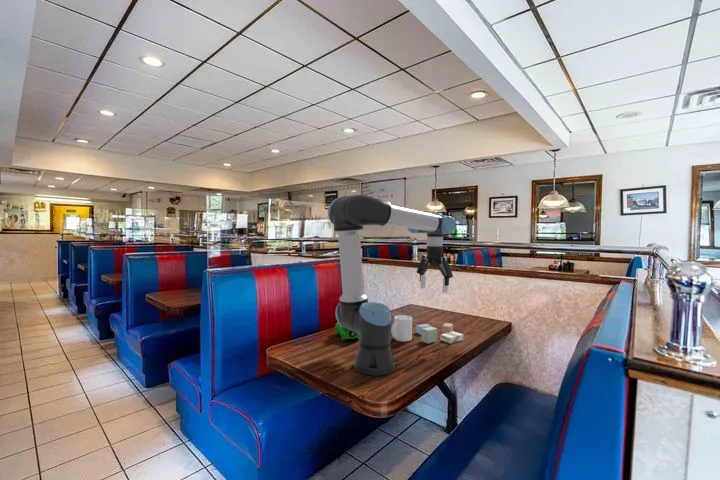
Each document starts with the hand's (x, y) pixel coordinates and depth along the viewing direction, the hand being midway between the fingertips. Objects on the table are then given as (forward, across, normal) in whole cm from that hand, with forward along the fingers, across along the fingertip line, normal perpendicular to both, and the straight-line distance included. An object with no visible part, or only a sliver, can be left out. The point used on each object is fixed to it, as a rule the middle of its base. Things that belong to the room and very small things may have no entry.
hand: (433, 290), depth 164 cm
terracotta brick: (+23, +1, -13) cm, 27 cm away
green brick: (+23, -2, +5) cm, 24 cm away
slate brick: (+23, +8, -2) cm, 24 cm away
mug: (+23, +7, +15) cm, 28 cm away
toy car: (+23, +23, +34) cm, 47 cm away
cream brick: (+23, -8, -5) cm, 25 cm away
